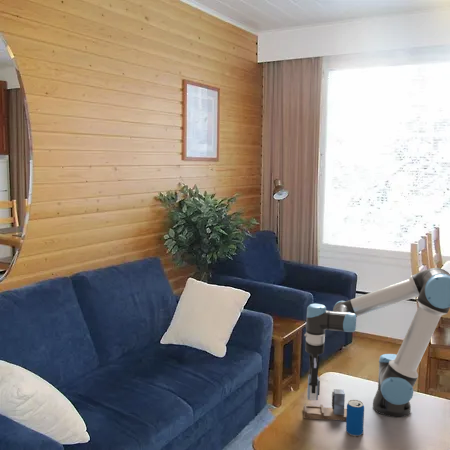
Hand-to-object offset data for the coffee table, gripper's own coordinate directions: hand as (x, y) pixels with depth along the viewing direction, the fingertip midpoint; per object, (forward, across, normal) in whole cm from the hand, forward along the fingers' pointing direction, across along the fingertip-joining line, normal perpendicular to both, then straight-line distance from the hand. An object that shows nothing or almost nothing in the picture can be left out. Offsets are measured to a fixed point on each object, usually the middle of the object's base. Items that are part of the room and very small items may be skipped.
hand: (312, 396), depth 210 cm
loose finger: (0, 0, 0) cm, 0 cm away
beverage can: (+8, +12, +16) cm, 21 cm away
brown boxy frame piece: (+8, 0, +6) cm, 10 cm away
